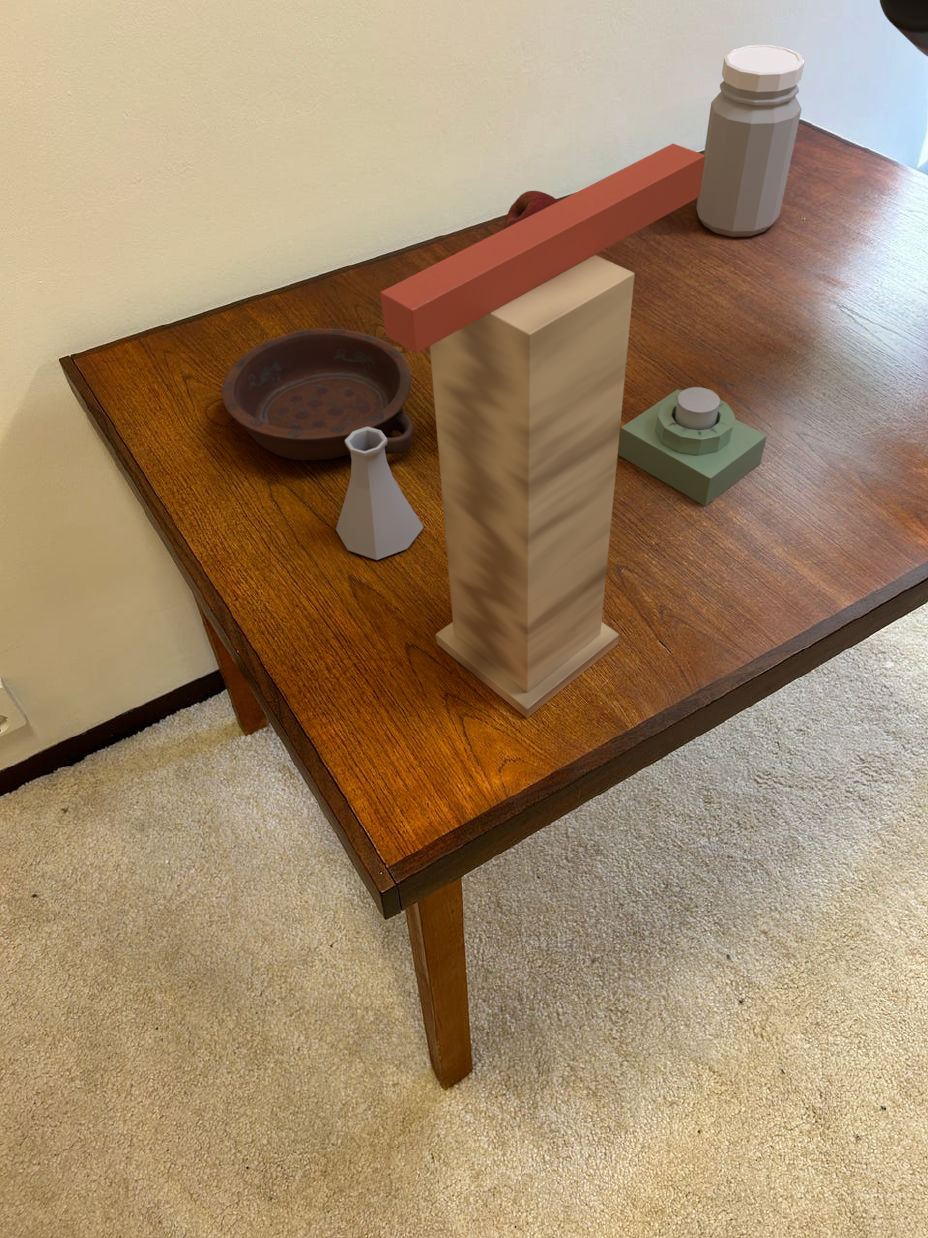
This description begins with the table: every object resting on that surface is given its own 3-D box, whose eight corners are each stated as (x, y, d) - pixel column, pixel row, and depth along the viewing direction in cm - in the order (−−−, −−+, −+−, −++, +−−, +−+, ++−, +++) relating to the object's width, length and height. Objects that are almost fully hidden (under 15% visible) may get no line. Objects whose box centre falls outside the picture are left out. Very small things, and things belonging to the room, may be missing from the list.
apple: (504, 245, 115) (503, 178, 109) (570, 244, 115) (572, 177, 109) (504, 278, 110) (503, 210, 104) (572, 276, 110) (575, 208, 104)
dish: (346, 514, 85) (338, 471, 82) (181, 426, 95) (167, 384, 91) (467, 414, 94) (464, 371, 90) (305, 343, 104) (296, 301, 100)
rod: (700, 196, 56) (706, 154, 54) (416, 354, 47) (411, 310, 45) (668, 183, 58) (672, 142, 56) (384, 335, 48) (379, 291, 46)
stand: (618, 644, 74) (662, 271, 51) (527, 718, 70) (529, 350, 47) (526, 577, 79) (528, 211, 56) (436, 643, 75) (397, 277, 52)
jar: (678, 221, 117) (698, 59, 104) (727, 193, 121) (754, 34, 108) (744, 249, 112) (775, 83, 99) (794, 219, 116) (830, 55, 103)
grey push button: (724, 418, 85) (728, 398, 83) (698, 436, 83) (702, 417, 82) (692, 400, 86) (695, 381, 85) (666, 418, 85) (668, 399, 83)
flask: (383, 491, 87) (370, 400, 80) (438, 529, 84) (430, 437, 76) (321, 532, 84) (301, 441, 77) (375, 573, 81) (360, 482, 73)
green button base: (760, 463, 87) (771, 418, 84) (705, 506, 84) (713, 461, 80) (673, 416, 92) (680, 372, 89) (618, 455, 89) (622, 410, 85)
